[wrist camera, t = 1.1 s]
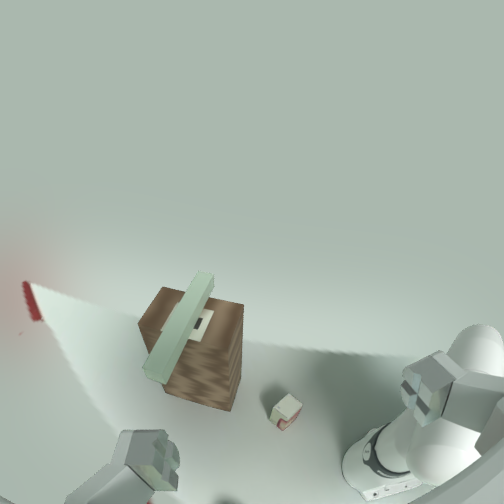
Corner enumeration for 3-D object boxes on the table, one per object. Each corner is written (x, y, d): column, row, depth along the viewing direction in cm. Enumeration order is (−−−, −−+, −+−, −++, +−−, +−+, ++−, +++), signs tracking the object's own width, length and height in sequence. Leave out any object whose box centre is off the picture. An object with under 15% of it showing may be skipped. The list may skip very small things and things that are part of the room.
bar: (214, 286, 52) (213, 274, 51) (166, 384, 34) (161, 374, 33) (199, 283, 53) (198, 271, 51) (147, 378, 35) (142, 367, 33)
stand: (241, 377, 64) (243, 304, 49) (230, 411, 56) (227, 348, 41) (180, 361, 66) (162, 286, 51) (165, 392, 58) (137, 323, 43)
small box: (282, 431, 52) (288, 419, 47) (268, 420, 54) (272, 407, 50) (297, 417, 55) (304, 403, 50) (283, 406, 57) (288, 392, 53)
